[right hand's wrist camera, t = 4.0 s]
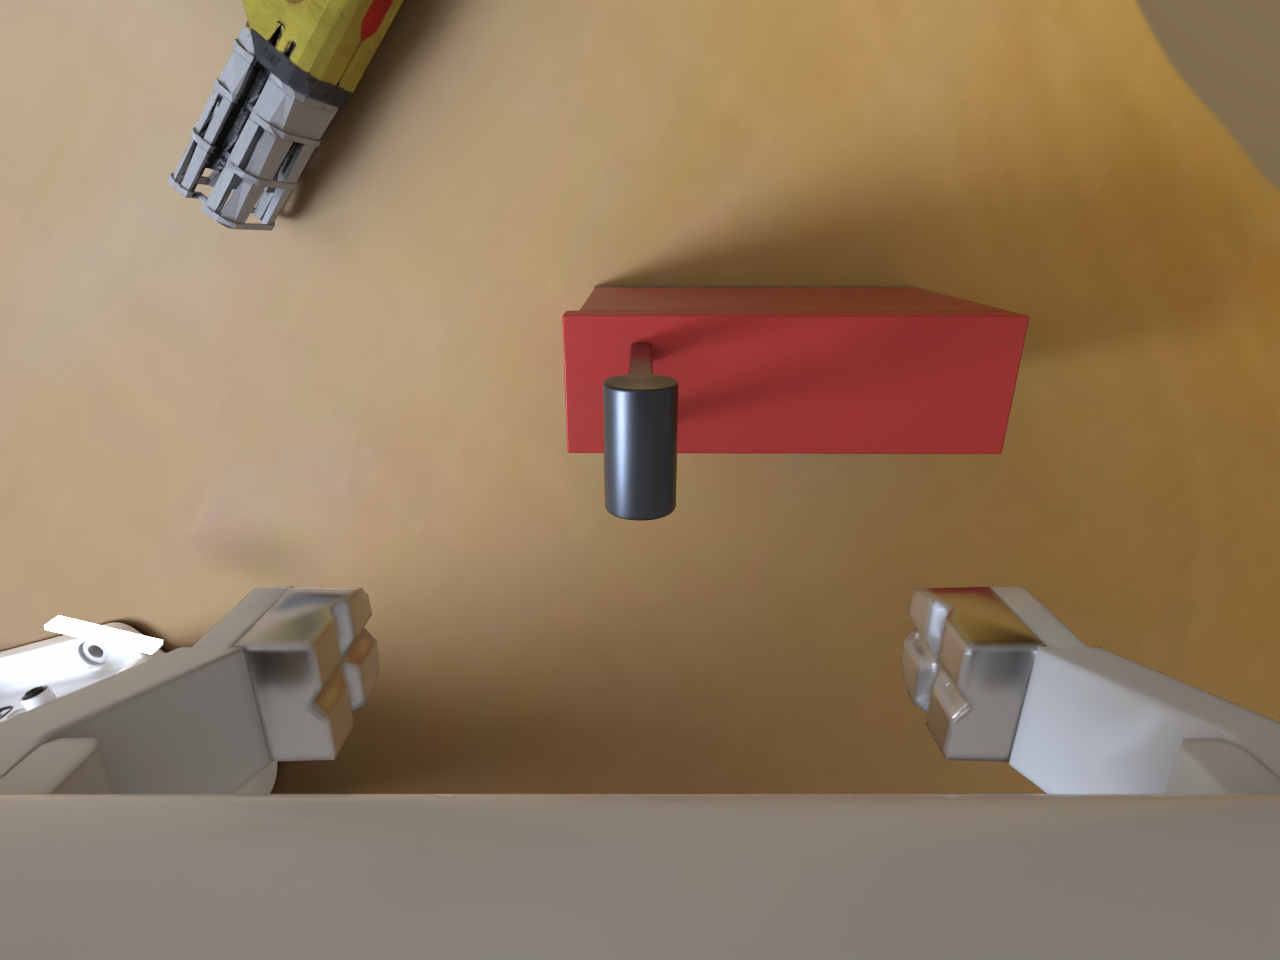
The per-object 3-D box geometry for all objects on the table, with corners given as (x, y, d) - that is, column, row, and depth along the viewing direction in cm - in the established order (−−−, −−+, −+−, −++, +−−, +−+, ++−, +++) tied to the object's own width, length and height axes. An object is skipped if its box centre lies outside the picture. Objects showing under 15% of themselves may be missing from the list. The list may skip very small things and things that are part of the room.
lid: (570, 443, 26) (537, 547, 18) (565, 310, 25) (526, 357, 16) (986, 444, 26) (1148, 549, 18) (1012, 311, 25) (1205, 359, 16)
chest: (597, 385, 36) (582, 443, 26) (595, 285, 34) (578, 310, 25) (897, 386, 36) (986, 444, 26) (911, 286, 34) (1012, 311, 25)
